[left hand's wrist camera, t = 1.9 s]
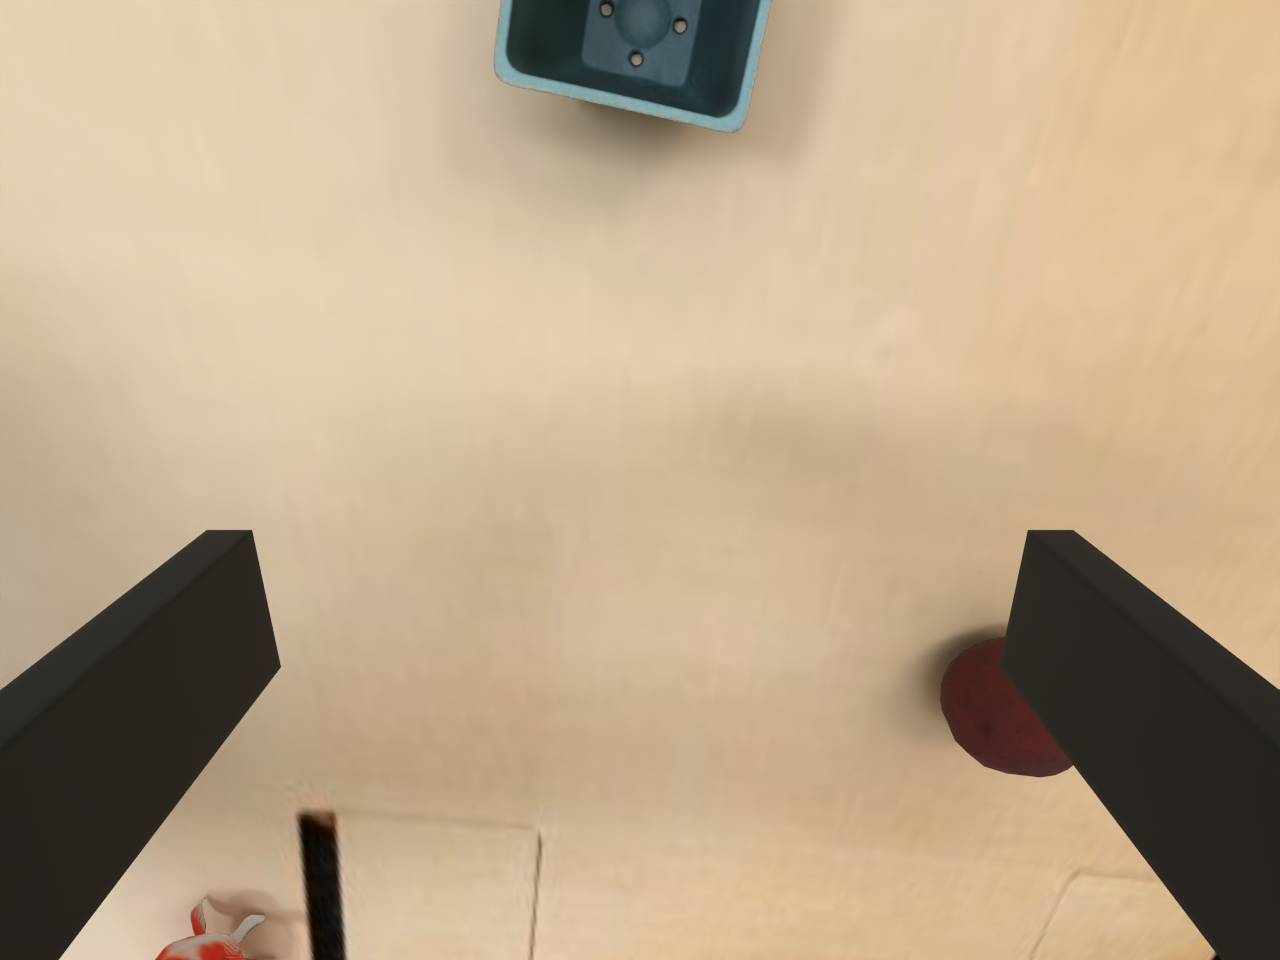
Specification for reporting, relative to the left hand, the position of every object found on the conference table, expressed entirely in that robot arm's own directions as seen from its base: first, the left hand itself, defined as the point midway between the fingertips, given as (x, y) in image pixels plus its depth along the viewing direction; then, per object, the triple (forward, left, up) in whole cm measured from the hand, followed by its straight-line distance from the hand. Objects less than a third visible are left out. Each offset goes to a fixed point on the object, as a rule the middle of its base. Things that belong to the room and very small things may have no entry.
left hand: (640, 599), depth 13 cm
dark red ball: (+29, -1, -26) cm, 39 cm away
